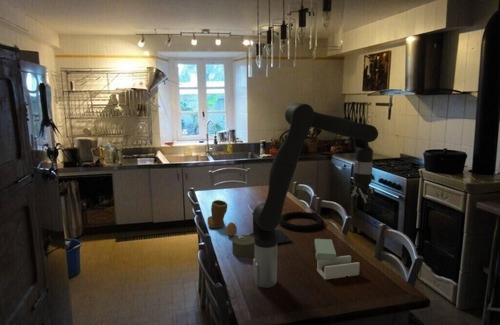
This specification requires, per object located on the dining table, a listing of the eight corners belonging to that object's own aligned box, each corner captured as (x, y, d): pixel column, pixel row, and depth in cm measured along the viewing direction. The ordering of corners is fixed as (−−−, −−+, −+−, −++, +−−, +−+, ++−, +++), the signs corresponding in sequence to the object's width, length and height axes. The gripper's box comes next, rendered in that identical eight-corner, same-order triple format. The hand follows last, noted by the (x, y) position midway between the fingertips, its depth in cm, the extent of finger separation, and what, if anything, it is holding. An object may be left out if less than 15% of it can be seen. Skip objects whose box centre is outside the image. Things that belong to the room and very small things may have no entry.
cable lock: (269, 218, 214) (298, 207, 235) (269, 224, 214) (297, 212, 236) (307, 230, 195) (335, 216, 217) (307, 236, 196) (334, 222, 217)
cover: (336, 260, 154) (336, 254, 153) (315, 259, 155) (315, 253, 154) (331, 244, 170) (331, 239, 170) (312, 243, 171) (312, 238, 171)
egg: (225, 238, 192) (225, 224, 191) (226, 234, 198) (226, 220, 197) (236, 238, 192) (236, 224, 191) (237, 234, 198) (237, 220, 197)
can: (237, 260, 167) (237, 246, 166) (228, 250, 178) (228, 237, 176) (260, 255, 172) (260, 241, 171) (249, 245, 183) (249, 233, 181)
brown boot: (228, 229, 206) (227, 204, 203) (207, 229, 204) (207, 205, 201) (226, 220, 220) (226, 197, 218) (207, 220, 219) (207, 197, 216)
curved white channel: (325, 279, 149) (325, 267, 148) (316, 270, 156) (317, 259, 155) (358, 274, 153) (359, 263, 152) (349, 266, 160) (350, 255, 159)
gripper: (345, 168, 156) (343, 204, 159) (366, 175, 143) (363, 214, 145) (359, 168, 158) (357, 202, 161) (381, 174, 145) (378, 212, 148)
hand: (360, 208), depth 153 cm, fingers open, 8 cm apart
